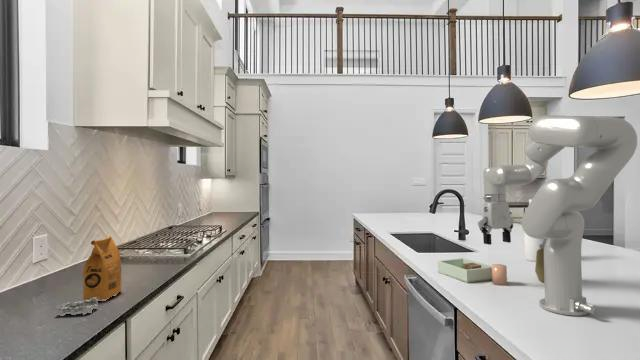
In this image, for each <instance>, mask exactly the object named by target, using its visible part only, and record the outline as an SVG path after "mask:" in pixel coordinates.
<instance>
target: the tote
mask: <svg viewBox="0 0 640 360" xmlns="http://www.w3.org/2000/svg"><path fill="white" fill-rule="evenodd" d="M465 263H475V264H479V265H481V268H477V269H469V270H466V269H463V264H465ZM437 273H438V274H441V275H444V276H446V277H449V278H452V279H455V280H458V281H460V282H463V283H464V284H465V283H466V284H470V283H471V284H473V283H477V282H486V281H492V265H488V264H484V263H481V262H478V261H475V260H470V259H467V258H464V257H463V258H462V257H461V258H454V259H451V258H450V259H444V260H437Z"/></svg>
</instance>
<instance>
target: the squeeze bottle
mask: <svg viewBox="0 0 640 360" xmlns="http://www.w3.org/2000/svg"><path fill="white" fill-rule="evenodd" d="M546 240H547V238H546V239H543V244H540V245H539V247H540V249H539V250H537V255H536V262H535V268H534V269H535V270H534V271H535V275H536V277H537V279H538V281H540V282H541V283H545V282H544V246H545V243H546Z"/></svg>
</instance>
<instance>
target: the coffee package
mask: <svg viewBox="0 0 640 360" xmlns="http://www.w3.org/2000/svg"><path fill="white" fill-rule="evenodd" d="M90 245H92V246H94V247H93V248H92V250H91V254H90V255H89V256H88V258H87V260H86V262H85V263H84V267H83V270H82V279H83V280H82V281H83V287H82V288H83V292H82V293H83V294H82V295H83V296H82V298H83V301H85V300H90V298H93V297H94V298H95V297H99V298H100V299H99V300H102V299H107V298H109V297H111V296H113V295H115V294H118V293H119V292H120V291H121V292H122V262H121V261H122V259H121V253H120V250H119V248H118V246H117V245H116V243H115V241H114V239H113V238H112V236H110V235H109V236H106V238H103V239H95V240H94V239H92V241H91V242H90ZM121 292H120V293H121ZM120 293H119V294H120ZM119 294H118V295H119ZM111 298H112V297H111Z"/></svg>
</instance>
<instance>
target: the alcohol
mask: <svg viewBox="0 0 640 360" xmlns="http://www.w3.org/2000/svg"><path fill="white" fill-rule="evenodd" d="M532 199H533V198H529V199H528V205H529V204H530V203H531V201H532ZM523 235H524V236H523V239H524V241H523V242H524V243H523V245H524V259H525V260H526V261H527V262H531V263H536V255H537V250H539V249H540V247H539V245H540V244H543V239H536V238H532V237H530V236H528V235H527V234H526V233H525V232H524V231H523Z"/></svg>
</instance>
